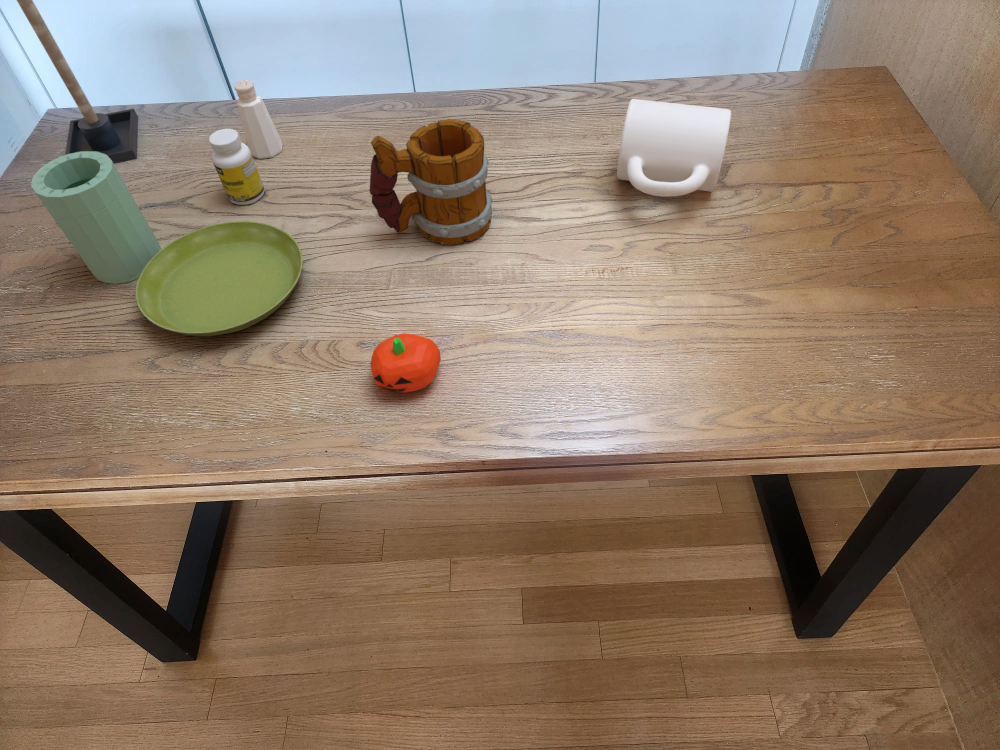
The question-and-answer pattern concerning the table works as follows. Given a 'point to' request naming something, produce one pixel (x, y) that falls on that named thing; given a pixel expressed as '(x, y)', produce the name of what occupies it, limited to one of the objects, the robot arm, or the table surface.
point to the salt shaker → (257, 122)
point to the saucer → (219, 278)
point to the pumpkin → (405, 363)
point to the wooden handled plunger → (73, 85)
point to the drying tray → (125, 129)
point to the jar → (97, 215)
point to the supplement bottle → (236, 167)
